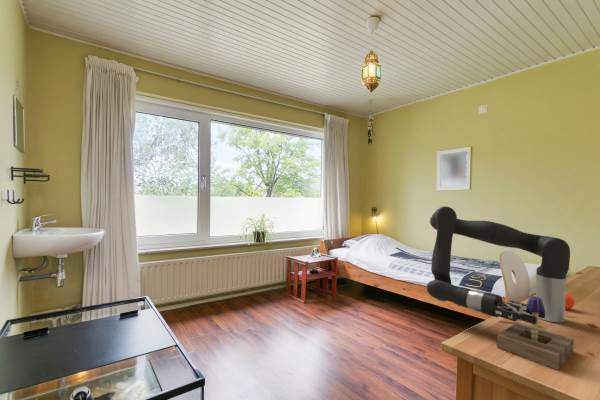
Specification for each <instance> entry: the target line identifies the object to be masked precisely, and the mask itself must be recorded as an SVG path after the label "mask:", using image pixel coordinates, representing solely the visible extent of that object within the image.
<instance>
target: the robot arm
mask: <svg viewBox="0 0 600 400" xmlns="http://www.w3.org/2000/svg"><path fill="white" fill-rule="evenodd" d="M429 224H430V226H431V227H432V228H433V229H434V230H436V239H435V243H434V246H433V251H432V256H431V268H430V269H431V271H430V272H431V273H432V275H433V277H434V279H433V280H430V281H428V283H427V284H426V291H427V294H428V295H429V296H431V298H434V299H436V300H437V301H440V302H447V301H448V302H451V303H453V304H454V305H457V306H459V307H463V308H467V309H469V310H472V311H474V312H477V313H481V314H484V315H487V316H490V317H494V318H499V317H500V318H503V319H504V320H505V319H506V320H509V321H513V322H517V321H519V322H525V323H530V324H531V325H532V324H536V323H537V317H535V316H532V315H533V314H532V311H530V310H528V309H526V305H527V303H526V304H525V303H523V302H518V301H513V300H509V301H507V302H505V301H504V300H503V298H502V296H501V295H500V294H496V293H495V294H494V293H492V292H486V291H483V290H478V289H471V288H467V287H463V286H458V285H455V284H453V283H452V278H451V260H452V259H451V255H452V245H453V237H454V235H458V236H463V237H466V238H470V239H474V240H478V241H481V242H484V243H487V244H491V245H494V246H499V247H504V248H512V249H513V248H514V249H518V250H523V251H526V252H528V253H531V254H534V255H536V256H539V257H541V264H540V266H538V267H537V268H536V275H535V296H536V297H539V298H541V299H542V302H543V305H544V309H545V312H544V313H539V315H538V316H539V320H544V321H547V322H551V323H557V324H560V323H563V324H564V323H565V320H566V319H565V318H566V316H565V315H566V309H565V294H567V292H566V290H567V289H566V286H567V284H566V282H567V274H568V273H569V270H570V258H571V248H570V245H569V244H568V242H567V241H566V240H564V239H562V238H559V237H554V236H547V235H540V234H532V233H528V232H523V231H521V230H518V229H517V228H514V227H512V226H509V225H505V224H502V223H499V222H494V221H491V220H466V219H465V220H464V219H460V218H458V217H457V213H456V211H455V210H454V209H453V208H452V207H450V206H446V205H445V206H441V207H438V208H437V209H436V210H435V211H434V213H433V214H432V215H431V217H430V219H429Z"/></svg>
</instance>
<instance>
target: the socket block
mask: <svg viewBox="0 0 600 400" xmlns="http://www.w3.org/2000/svg"><path fill="white" fill-rule="evenodd" d="M531 326H532V325H531ZM531 326H530V325H527V324H524V323H520V322H517V321H516V323H514V324H512V325H511V326H509V327H507V328H506V329H504V330H503V331H501V332H499V333H498V334H497V337H496V348H497V349H499V350H502V351H506V352H508V353H510V354H514V355H516V356H520V357H521V358H523V359H527V360H530V361H533V362H536V363H538V364H540V365H543V366H546V367H548V368H551V369H554V370H559V369H560V368H561V367H562V366H563V364H565V362H566V361H567V360H568V359H569V358H570V357H571V356H572V354H573V353H574V350H575V349H574V348H575V346H574V345H575V344H574V343H575V340H574V339H575V338H571V337H568V336H565V335H561V334H558V333H555V332H551V331H548V330H545V329H541V328H538V339H537V341H538V342H537V341H534V340H531V334H532V333H531V330H532V327H531Z"/></svg>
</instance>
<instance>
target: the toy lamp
mask: <svg viewBox="0 0 600 400" xmlns="http://www.w3.org/2000/svg"><path fill="white" fill-rule="evenodd" d="M526 304H527V305H526V308H525V310H526V309H528V310H530V311H532V314H533V315H532V316H535V317H537V323H536V324H532V323H531V327H532V330H531V333H532V334H531V340H534V341H537V339H538V329H539V322H540V321H539V320H540V318H539V316H538V315H539V313H544V312H545V309H544V305H543V302H542V299H541V298H539V297H536V295H531V296H529V298H528V300H527V303H526ZM537 342H538V341H537Z"/></svg>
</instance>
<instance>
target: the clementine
mask: <svg viewBox="0 0 600 400" xmlns="http://www.w3.org/2000/svg"><path fill="white" fill-rule="evenodd" d="M573 306H575V300H574V298H573V296H571V295H569V294H568V293H566V294H565V310H569V309H571V308H573Z"/></svg>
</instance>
